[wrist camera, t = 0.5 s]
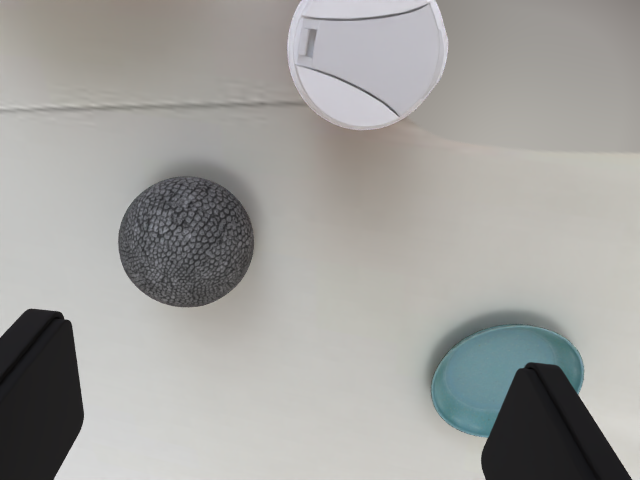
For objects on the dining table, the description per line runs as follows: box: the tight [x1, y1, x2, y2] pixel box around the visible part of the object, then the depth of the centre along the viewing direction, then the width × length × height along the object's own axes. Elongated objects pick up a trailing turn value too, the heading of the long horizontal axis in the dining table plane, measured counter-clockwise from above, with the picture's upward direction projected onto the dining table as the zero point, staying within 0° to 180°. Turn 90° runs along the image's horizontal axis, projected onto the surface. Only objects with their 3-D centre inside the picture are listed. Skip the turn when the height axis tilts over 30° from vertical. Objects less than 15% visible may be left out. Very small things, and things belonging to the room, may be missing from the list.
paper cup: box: [287, 0, 448, 130], centre depth 28 cm, size 8×8×14 cm
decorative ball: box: [118, 177, 254, 307], centre depth 37 cm, size 10×10×10 cm
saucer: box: [431, 324, 584, 438], centre depth 48 cm, size 15×15×3 cm
